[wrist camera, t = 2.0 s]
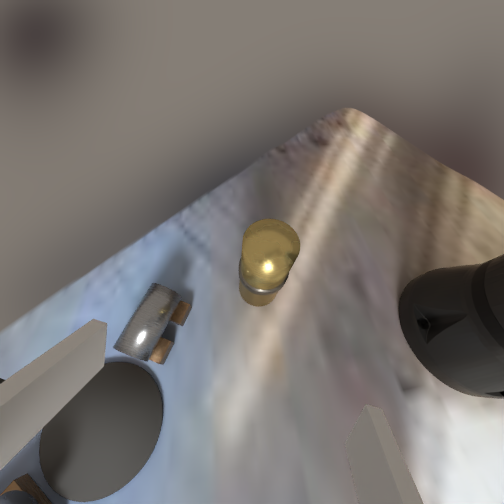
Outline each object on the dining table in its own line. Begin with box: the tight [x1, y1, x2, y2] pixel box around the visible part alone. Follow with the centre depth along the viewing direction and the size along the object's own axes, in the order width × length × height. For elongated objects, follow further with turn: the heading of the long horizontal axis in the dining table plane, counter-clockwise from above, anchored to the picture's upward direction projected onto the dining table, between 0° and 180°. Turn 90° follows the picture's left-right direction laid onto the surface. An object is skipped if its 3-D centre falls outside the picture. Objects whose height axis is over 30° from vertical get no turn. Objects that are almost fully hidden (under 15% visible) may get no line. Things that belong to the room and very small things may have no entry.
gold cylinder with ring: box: [239, 219, 300, 306], centre depth 26 cm, size 5×5×12 cm
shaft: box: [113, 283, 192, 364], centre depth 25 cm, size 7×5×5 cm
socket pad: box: [39, 362, 163, 502], centre depth 23 cm, size 11×11×1 cm
